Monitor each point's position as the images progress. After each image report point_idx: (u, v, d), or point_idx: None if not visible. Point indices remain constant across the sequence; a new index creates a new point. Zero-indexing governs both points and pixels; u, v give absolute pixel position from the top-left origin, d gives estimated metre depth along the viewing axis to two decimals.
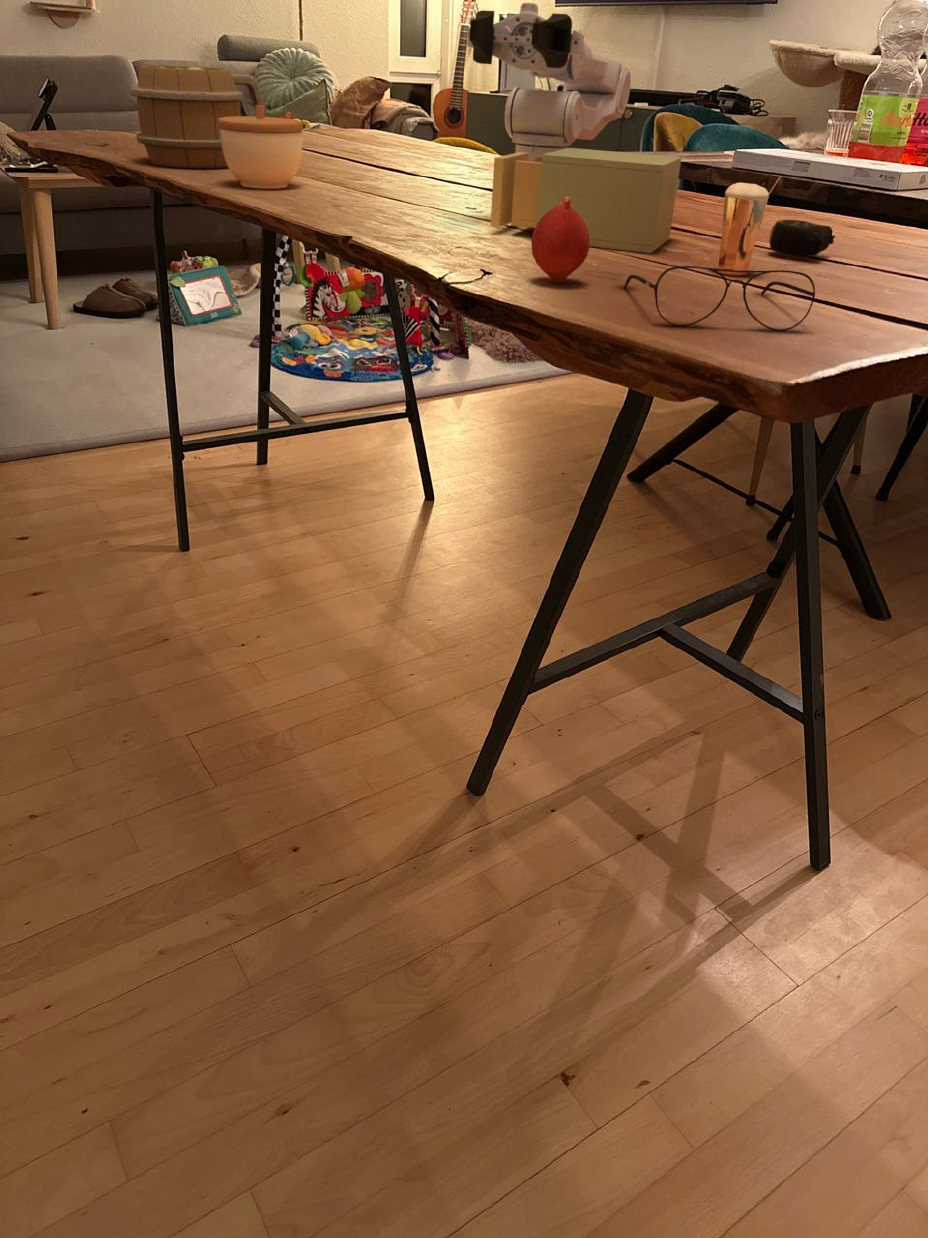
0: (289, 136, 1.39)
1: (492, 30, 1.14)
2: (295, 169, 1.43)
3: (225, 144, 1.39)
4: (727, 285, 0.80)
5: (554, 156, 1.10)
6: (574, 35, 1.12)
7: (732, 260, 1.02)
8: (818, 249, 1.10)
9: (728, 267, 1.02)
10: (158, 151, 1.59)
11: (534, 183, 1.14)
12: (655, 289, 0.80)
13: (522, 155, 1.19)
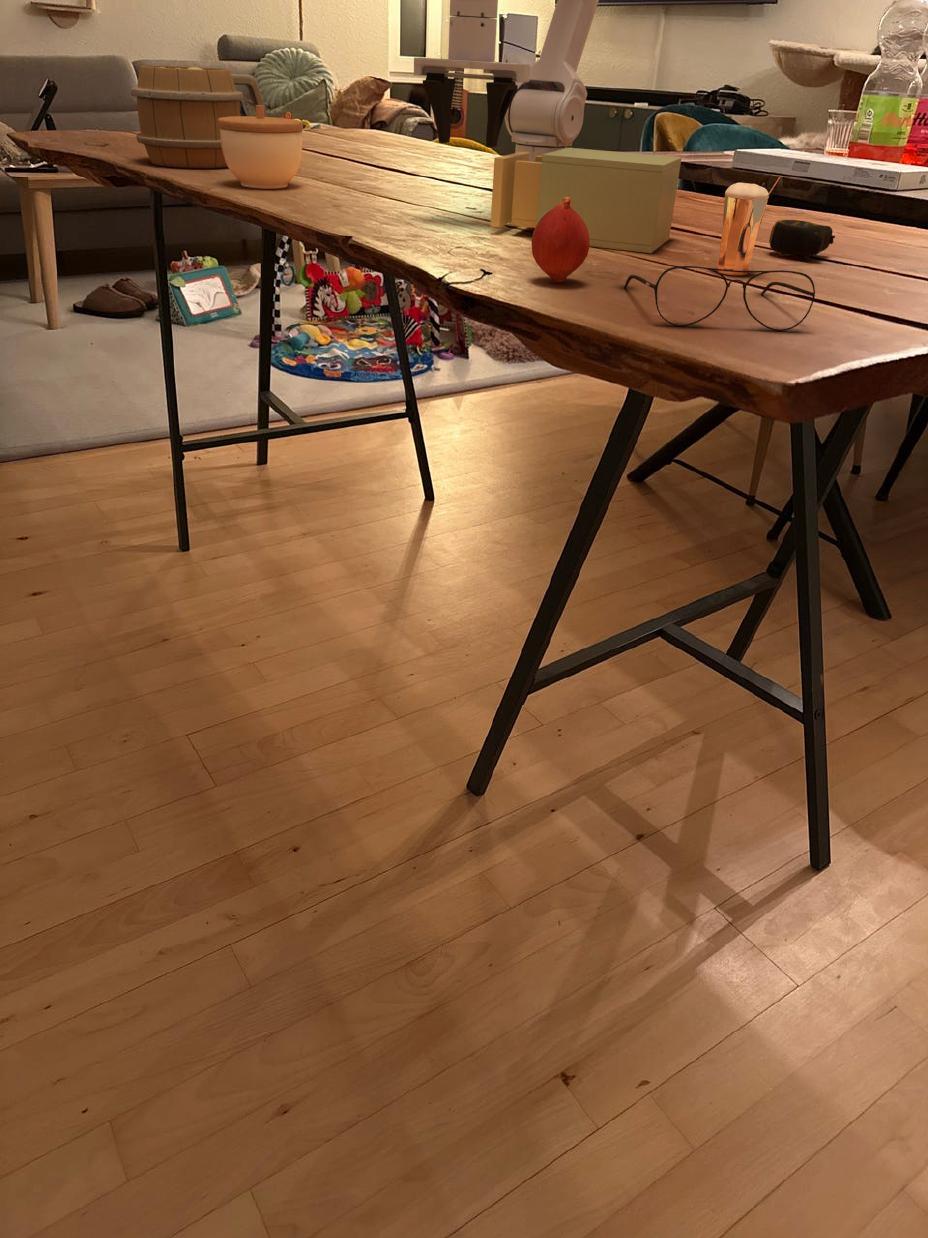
0: (289, 136, 1.39)
1: (444, 84, 1.16)
2: (295, 169, 1.43)
3: (225, 144, 1.39)
4: (727, 285, 0.80)
5: (554, 156, 1.10)
6: (519, 81, 1.12)
7: (732, 260, 1.02)
8: (818, 249, 1.10)
9: (728, 267, 1.02)
10: (158, 151, 1.59)
11: (534, 183, 1.14)
12: (655, 289, 0.80)
13: (522, 155, 1.19)
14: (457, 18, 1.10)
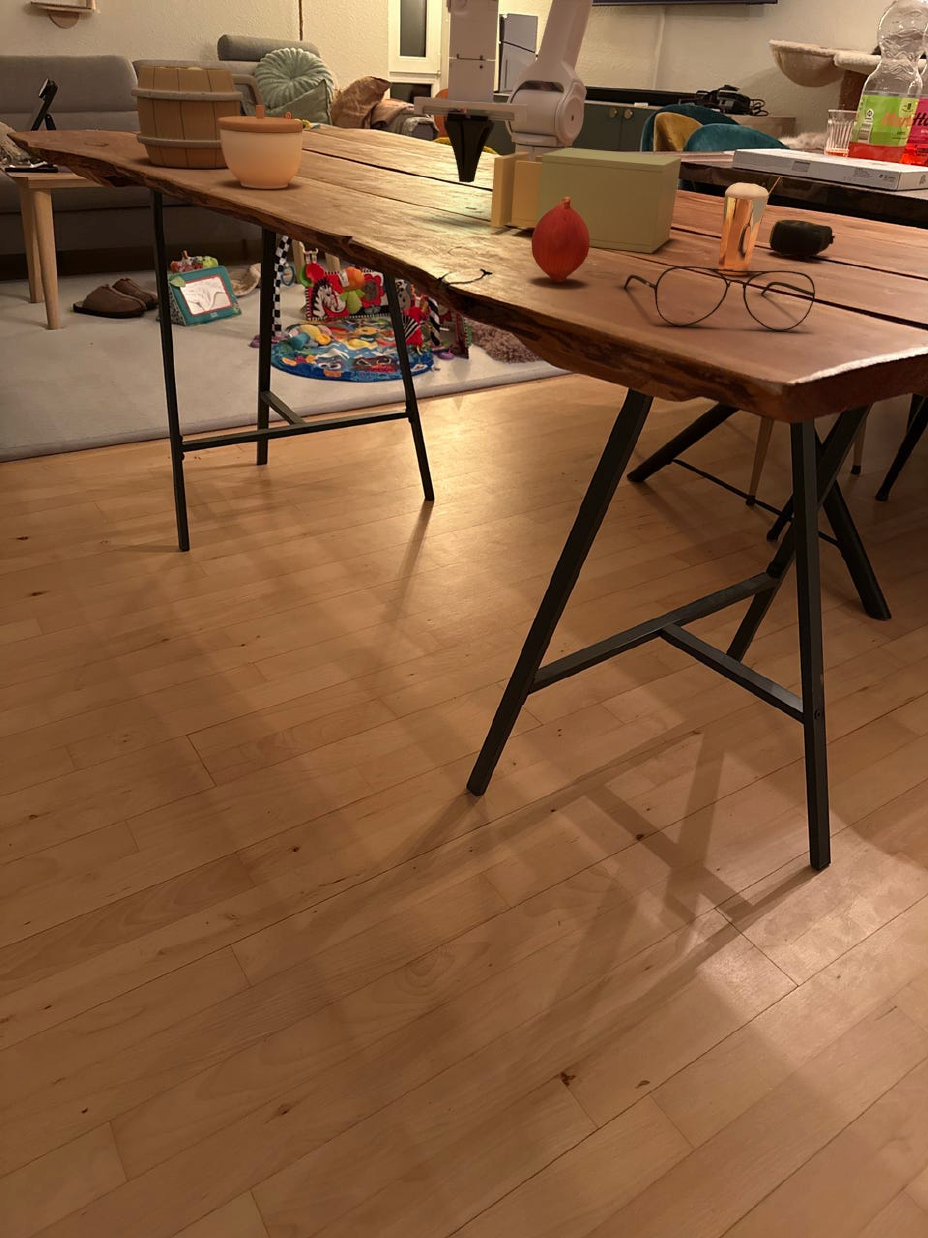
0: (289, 136, 1.39)
1: None
2: (295, 169, 1.43)
3: (225, 144, 1.39)
4: (727, 285, 0.80)
5: (554, 156, 1.10)
6: (517, 121, 1.15)
7: (732, 260, 1.02)
8: (818, 249, 1.10)
9: (728, 267, 1.02)
10: (158, 151, 1.59)
11: (534, 183, 1.14)
12: (655, 289, 0.80)
13: (522, 155, 1.19)
14: (456, 60, 1.12)
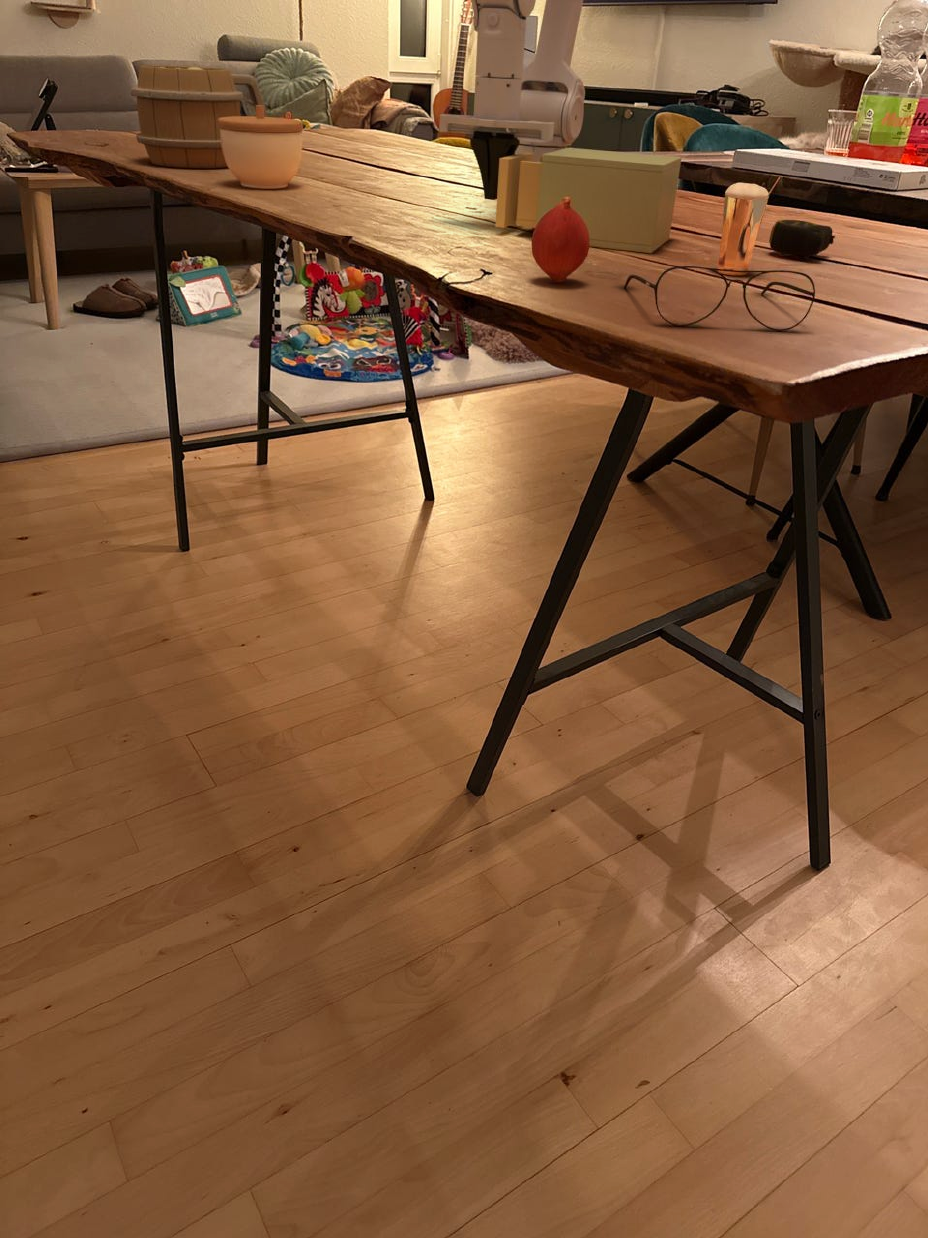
0: (289, 136, 1.39)
1: None
2: (295, 169, 1.43)
3: (225, 144, 1.39)
4: (727, 285, 0.80)
5: (554, 156, 1.10)
6: (543, 140, 1.14)
7: (732, 260, 1.02)
8: (818, 249, 1.10)
9: (728, 267, 1.02)
10: (158, 151, 1.59)
11: (539, 184, 1.13)
12: (655, 289, 0.80)
13: (527, 155, 1.19)
14: (483, 79, 1.12)
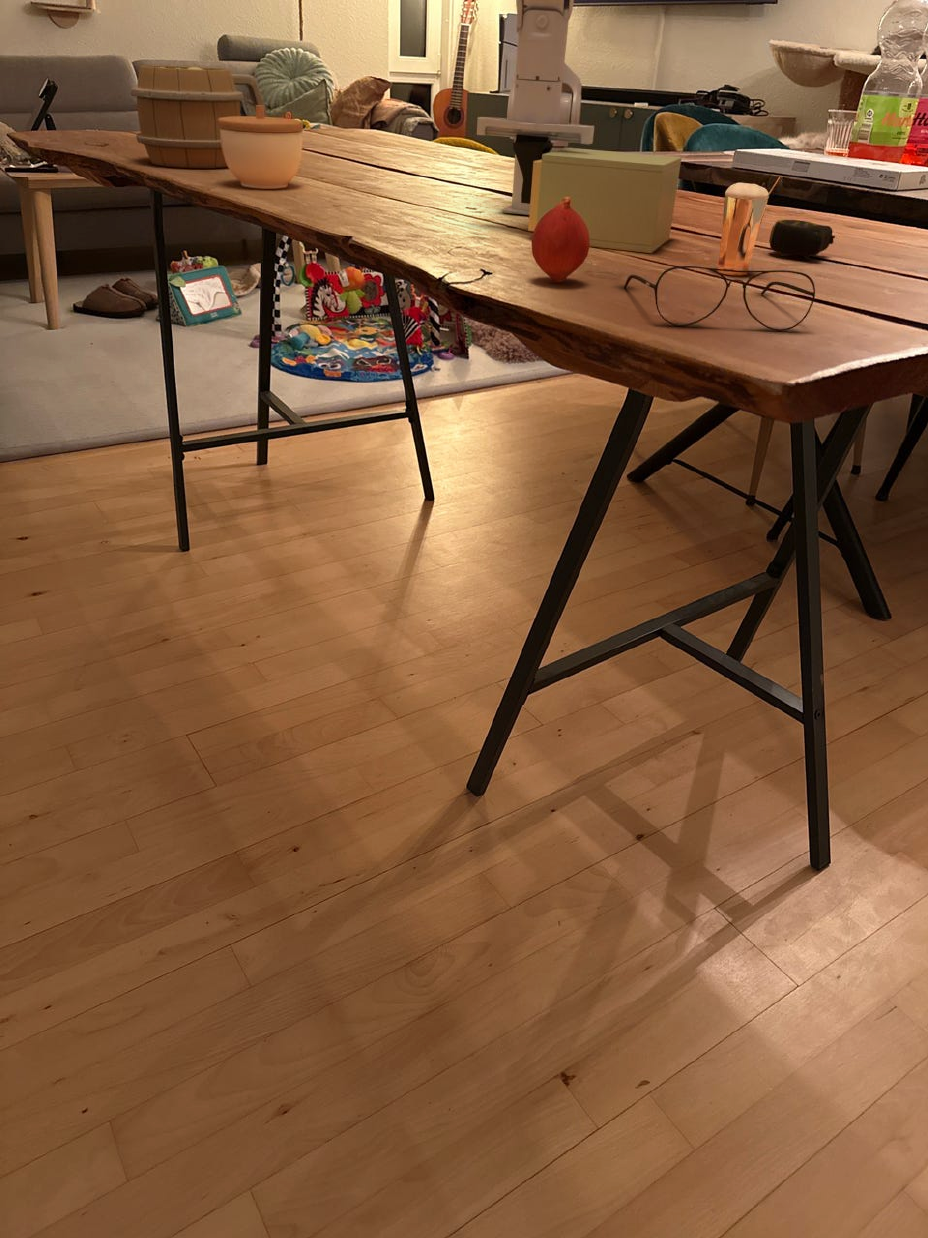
0: (289, 136, 1.39)
1: None
2: (295, 169, 1.43)
3: (225, 144, 1.39)
4: (727, 285, 0.80)
5: (554, 156, 1.10)
6: (583, 143, 1.13)
7: (732, 260, 1.02)
8: (818, 249, 1.10)
9: (728, 267, 1.02)
10: (158, 151, 1.59)
11: None
12: (655, 289, 0.80)
13: None
14: (523, 81, 1.10)
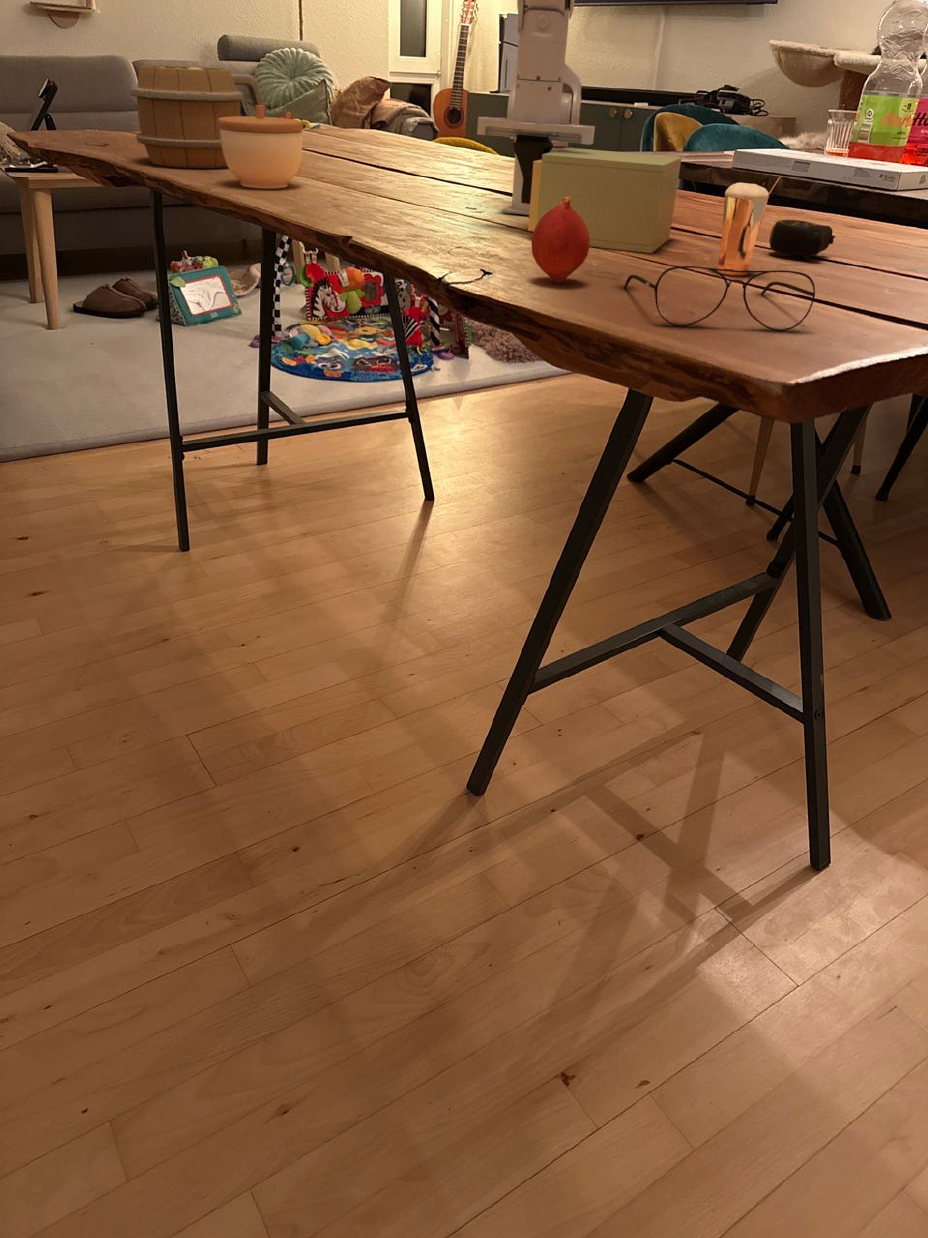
0: (289, 136, 1.39)
1: None
2: (295, 169, 1.43)
3: (225, 144, 1.39)
4: (727, 285, 0.80)
5: (554, 156, 1.10)
6: (584, 143, 1.13)
7: (732, 260, 1.02)
8: (818, 249, 1.10)
9: (728, 267, 1.02)
10: (158, 151, 1.59)
11: None
12: (655, 289, 0.80)
13: None
14: (524, 82, 1.10)
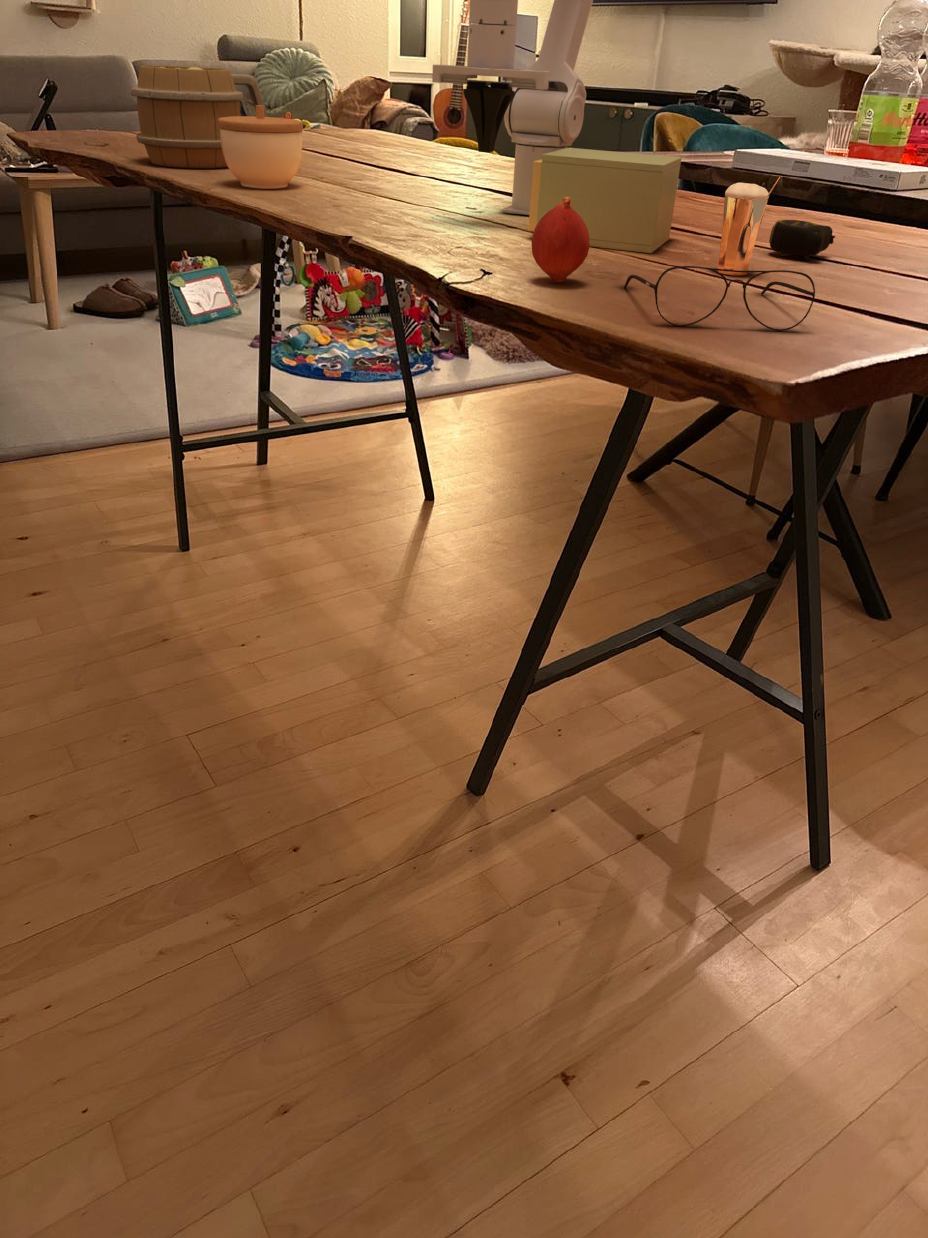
0: (289, 136, 1.39)
1: None
2: (295, 169, 1.43)
3: (225, 144, 1.39)
4: (727, 285, 0.80)
5: (554, 156, 1.10)
6: (538, 89, 1.12)
7: (732, 260, 1.02)
8: (818, 249, 1.10)
9: (728, 267, 1.02)
10: (158, 151, 1.59)
11: None
12: (655, 289, 0.80)
13: None
14: (477, 26, 1.10)
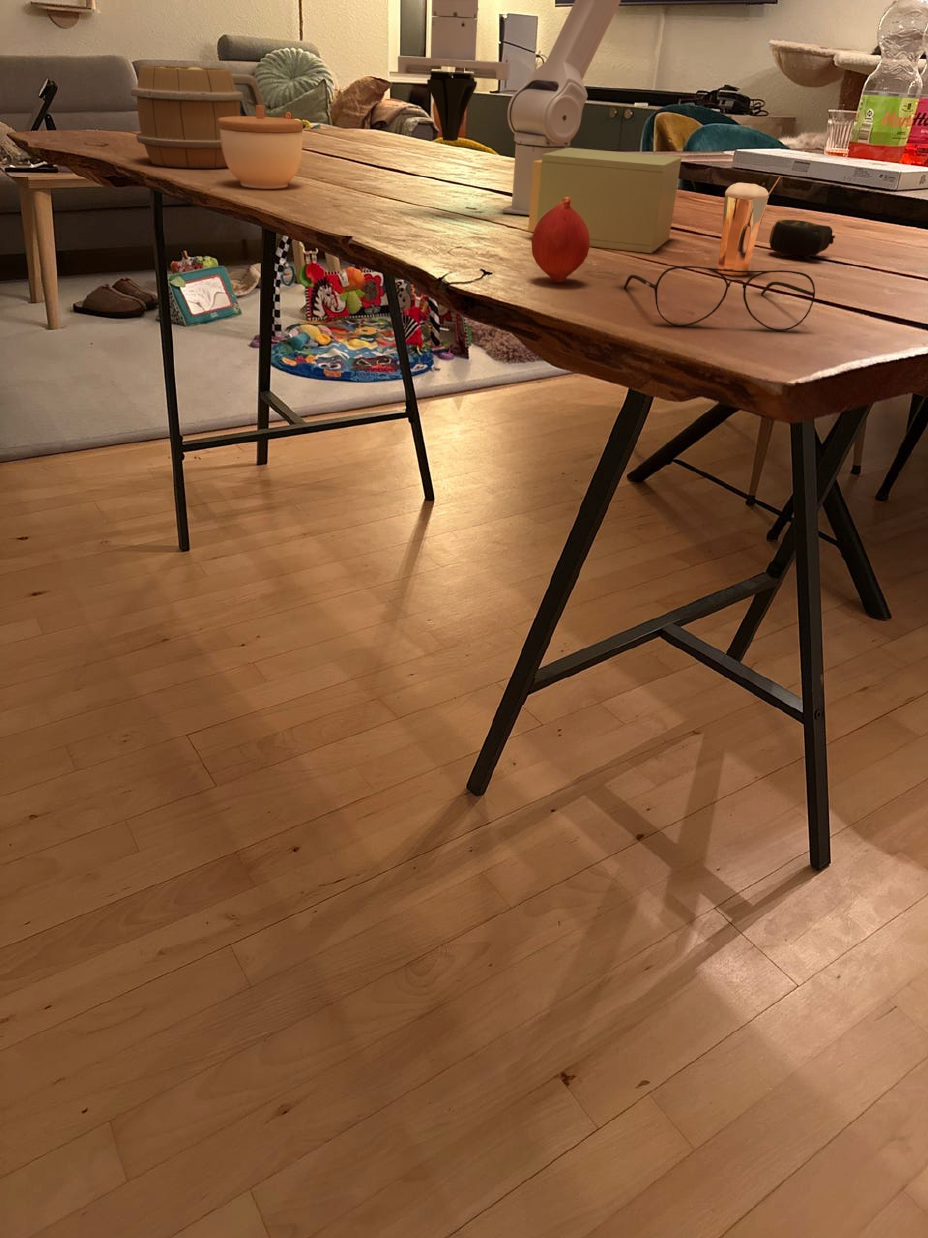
0: (289, 136, 1.39)
1: None
2: (295, 169, 1.43)
3: (225, 144, 1.39)
4: (727, 285, 0.80)
5: (554, 156, 1.10)
6: (499, 79, 1.17)
7: (732, 260, 1.02)
8: (818, 249, 1.10)
9: (728, 267, 1.02)
10: (158, 151, 1.59)
11: None
12: (655, 289, 0.80)
13: None
14: (439, 18, 1.14)
